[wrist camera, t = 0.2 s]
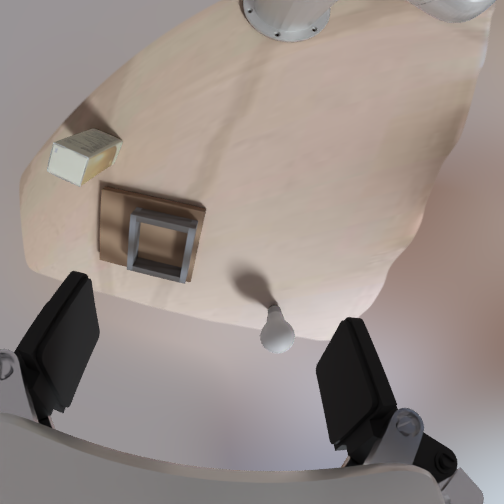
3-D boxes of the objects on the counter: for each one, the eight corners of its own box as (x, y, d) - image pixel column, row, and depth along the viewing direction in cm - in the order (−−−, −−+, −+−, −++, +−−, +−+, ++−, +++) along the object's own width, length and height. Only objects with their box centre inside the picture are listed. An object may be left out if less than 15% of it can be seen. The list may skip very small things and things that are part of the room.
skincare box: (85, 150, 40) (44, 170, 30) (93, 127, 38) (51, 140, 28) (116, 164, 42) (79, 188, 31) (125, 141, 40) (88, 158, 29)
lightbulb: (252, 306, 57) (253, 348, 47) (277, 290, 55) (283, 331, 45) (271, 323, 59) (275, 364, 50) (295, 308, 57) (303, 349, 48)
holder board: (105, 186, 44) (93, 195, 40) (206, 208, 46) (202, 220, 42) (102, 255, 50) (93, 268, 46) (191, 277, 53) (187, 292, 49)
